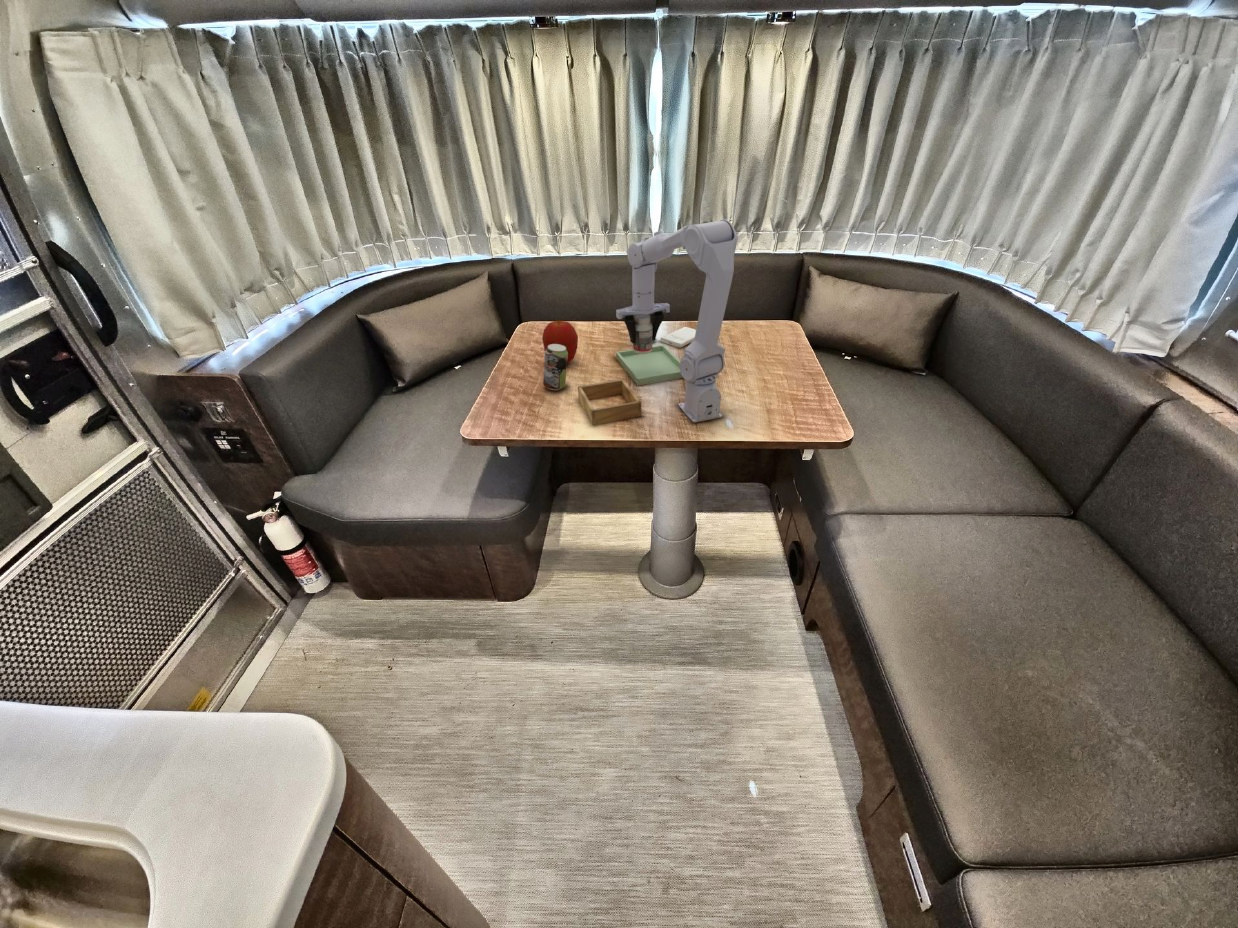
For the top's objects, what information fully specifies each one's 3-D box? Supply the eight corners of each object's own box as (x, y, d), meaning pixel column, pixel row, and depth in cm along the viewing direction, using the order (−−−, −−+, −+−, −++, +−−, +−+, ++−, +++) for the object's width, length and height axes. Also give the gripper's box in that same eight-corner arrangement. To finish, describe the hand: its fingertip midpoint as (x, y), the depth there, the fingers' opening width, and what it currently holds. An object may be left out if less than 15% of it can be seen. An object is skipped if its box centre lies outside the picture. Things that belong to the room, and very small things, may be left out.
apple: (546, 372, 155) (541, 326, 147) (543, 358, 163) (538, 313, 155) (581, 368, 156) (578, 322, 148) (577, 354, 164) (574, 310, 156)
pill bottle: (630, 347, 149) (630, 313, 143) (649, 345, 150) (649, 311, 144) (635, 355, 145) (635, 320, 139) (654, 353, 146) (655, 318, 140)
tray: (689, 376, 150) (689, 370, 149) (637, 385, 147) (637, 379, 145) (663, 350, 166) (663, 344, 164) (615, 358, 162) (615, 351, 161)
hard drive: (704, 337, 174) (680, 348, 167) (684, 330, 179) (660, 341, 171) (704, 332, 173) (680, 343, 166) (684, 326, 178) (660, 336, 170)
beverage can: (541, 384, 148) (536, 344, 141) (566, 380, 150) (563, 340, 143) (547, 394, 143) (542, 353, 136) (573, 389, 145) (570, 348, 138)
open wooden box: (641, 416, 133) (641, 402, 131) (592, 425, 130) (591, 410, 128) (623, 392, 143) (623, 378, 141) (578, 400, 140) (577, 386, 138)
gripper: (663, 283, 143) (661, 331, 151) (612, 289, 139) (613, 339, 147) (673, 291, 137) (671, 340, 145) (620, 297, 134) (621, 348, 142)
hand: (642, 340), depth 146 cm, fingers closed on pill bottle, 5 cm apart
